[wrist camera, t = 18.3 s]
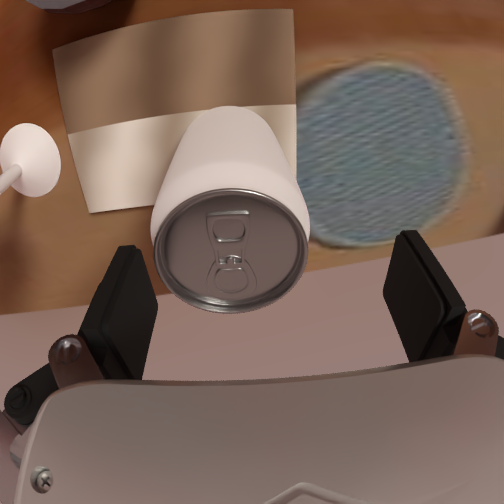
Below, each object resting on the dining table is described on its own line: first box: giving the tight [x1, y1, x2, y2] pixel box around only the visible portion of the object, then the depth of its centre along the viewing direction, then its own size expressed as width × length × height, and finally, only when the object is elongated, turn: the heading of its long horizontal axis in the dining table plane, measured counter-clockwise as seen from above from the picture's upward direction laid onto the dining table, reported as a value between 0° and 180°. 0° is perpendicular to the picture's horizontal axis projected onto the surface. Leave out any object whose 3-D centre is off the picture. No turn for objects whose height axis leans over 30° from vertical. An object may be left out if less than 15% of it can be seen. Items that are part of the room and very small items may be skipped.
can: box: [150, 106, 310, 314], centre depth 16 cm, size 6×6×12 cm
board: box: [52, 9, 296, 213], centre depth 20 cm, size 16×13×1 cm
